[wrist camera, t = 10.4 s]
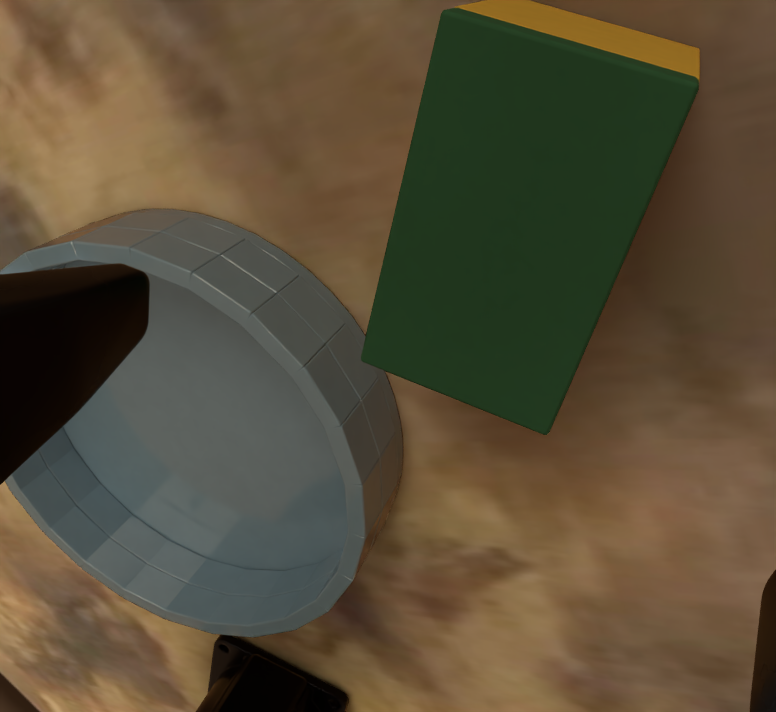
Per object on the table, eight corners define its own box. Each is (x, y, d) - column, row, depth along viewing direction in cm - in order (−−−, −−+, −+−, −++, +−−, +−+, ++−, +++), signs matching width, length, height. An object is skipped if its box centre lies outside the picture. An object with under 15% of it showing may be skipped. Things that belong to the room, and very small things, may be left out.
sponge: (580, 330, 20) (547, 438, 16) (431, 275, 21) (358, 362, 17) (700, 48, 16) (701, 84, 12) (509, -6, 17) (440, 8, 12)
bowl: (357, 626, 29) (320, 698, 27) (48, 478, 32) (-16, 529, 30) (454, 306, 21) (415, 360, 18) (29, 146, 24) (-62, 172, 21)
